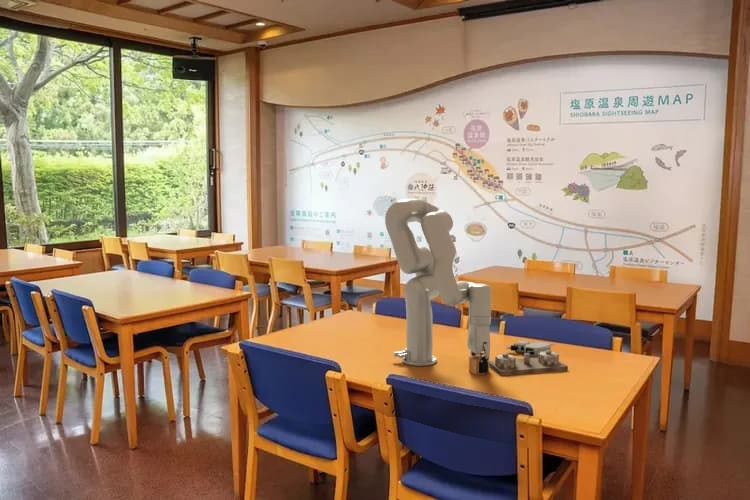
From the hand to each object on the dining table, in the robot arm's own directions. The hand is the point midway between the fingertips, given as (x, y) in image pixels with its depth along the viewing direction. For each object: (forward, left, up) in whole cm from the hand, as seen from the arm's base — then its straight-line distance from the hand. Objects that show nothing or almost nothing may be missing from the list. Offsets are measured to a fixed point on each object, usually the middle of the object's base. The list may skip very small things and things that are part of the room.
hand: (479, 369), depth 215 cm
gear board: (+18, 0, -1) cm, 18 cm away
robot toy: (+27, +16, -1) cm, 31 cm away
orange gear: (0, 0, -1) cm, 1 cm away
